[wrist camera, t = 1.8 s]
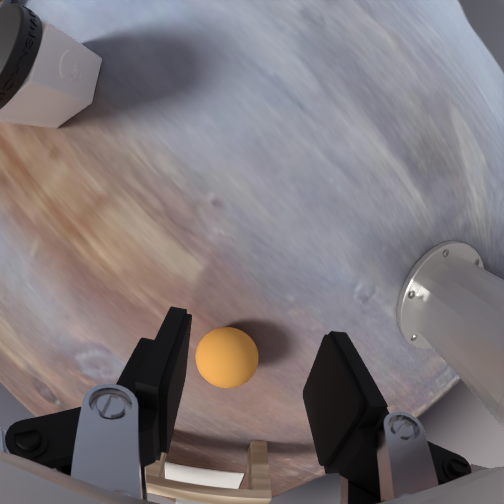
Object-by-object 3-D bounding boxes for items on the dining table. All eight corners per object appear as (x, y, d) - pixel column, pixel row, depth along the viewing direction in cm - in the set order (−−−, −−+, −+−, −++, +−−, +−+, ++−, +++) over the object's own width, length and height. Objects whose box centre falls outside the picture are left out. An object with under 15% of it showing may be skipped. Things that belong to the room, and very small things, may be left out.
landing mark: (244, 472, 34) (244, 473, 34) (232, 500, 37) (232, 500, 37) (164, 461, 33) (164, 462, 33) (166, 490, 36) (166, 491, 36)
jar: (90, 127, 21) (-2, 111, 9) (29, 130, 20) (-58, 127, 9) (111, 39, 19) (43, -18, 7) (47, 50, 18) (-26, 18, 6)
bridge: (154, 424, 30) (138, 480, 22) (266, 441, 32) (271, 498, 23) (155, 437, 31) (141, 490, 22) (261, 452, 32) (265, 507, 24)
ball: (262, 321, 26) (266, 355, 21) (251, 366, 28) (252, 404, 23) (203, 311, 26) (194, 344, 21) (197, 358, 27) (189, 394, 22)
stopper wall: (221, 498, 37) (221, 508, 34) (220, 501, 37) (220, 512, 35) (177, 491, 36) (175, 502, 34) (177, 495, 37) (175, 505, 34)
